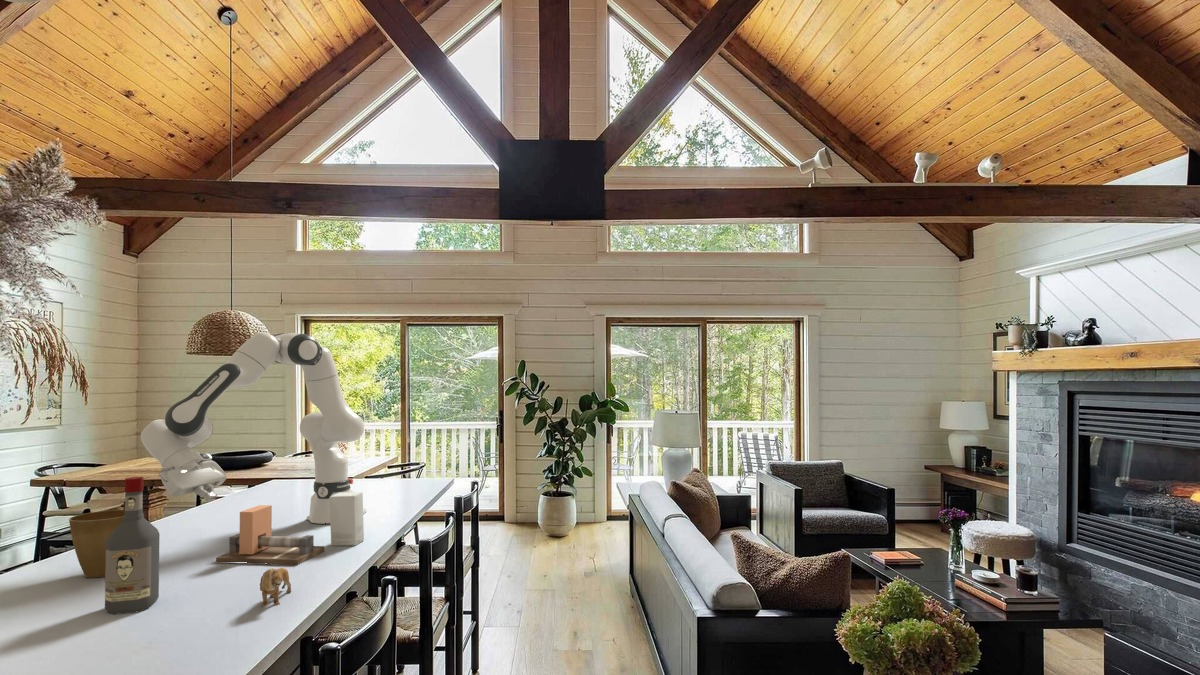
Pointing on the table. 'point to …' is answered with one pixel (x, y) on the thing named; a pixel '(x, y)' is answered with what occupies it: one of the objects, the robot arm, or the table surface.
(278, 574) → the lion figurine
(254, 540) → the notched orange block
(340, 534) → the skincare box
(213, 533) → the table surface
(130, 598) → the liquor
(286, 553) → the pipe stand
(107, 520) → the plant pot
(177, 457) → the robot arm
